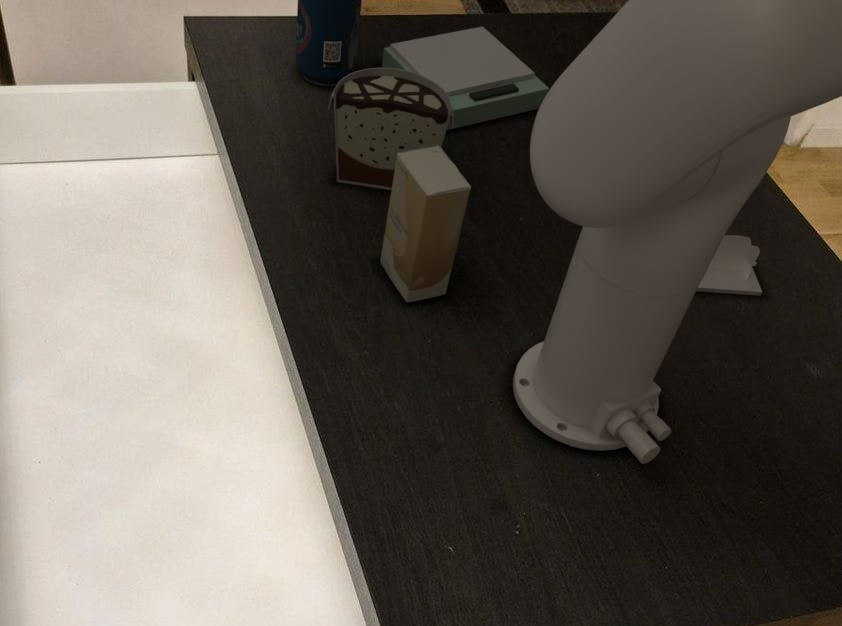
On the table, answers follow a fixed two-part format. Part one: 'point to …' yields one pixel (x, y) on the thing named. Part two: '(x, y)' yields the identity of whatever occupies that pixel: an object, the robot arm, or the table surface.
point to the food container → (385, 122)
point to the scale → (471, 74)
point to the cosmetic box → (423, 222)
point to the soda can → (327, 39)
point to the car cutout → (732, 268)
